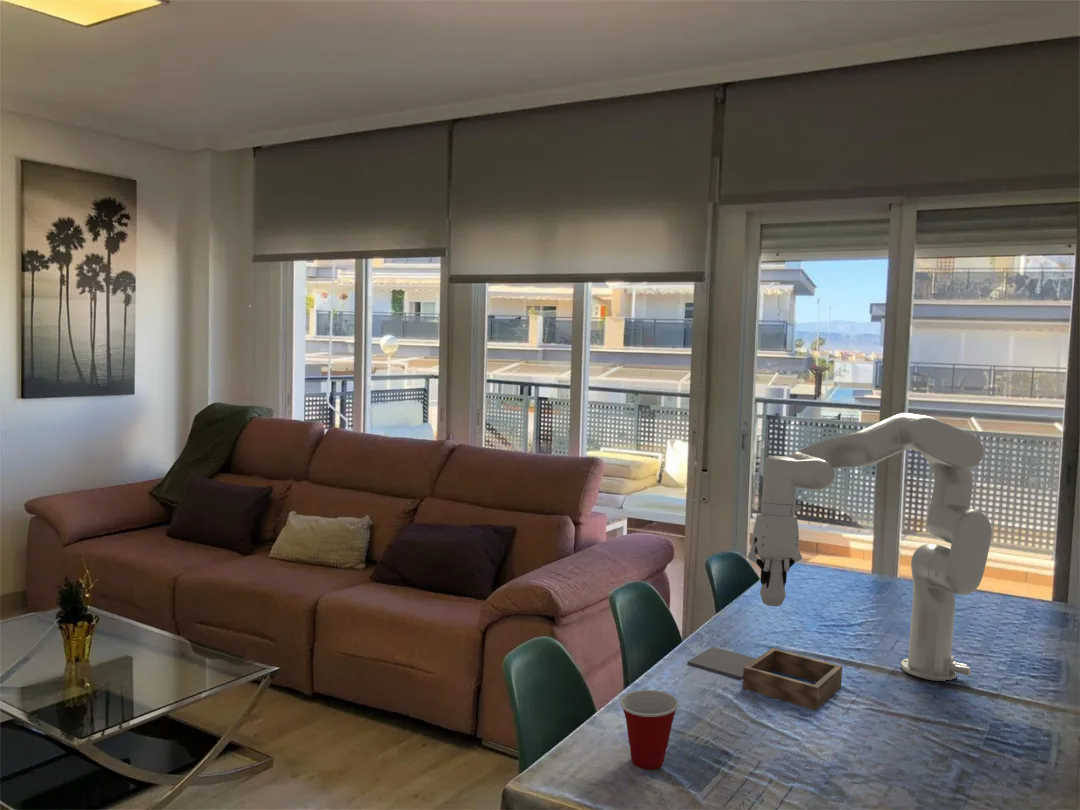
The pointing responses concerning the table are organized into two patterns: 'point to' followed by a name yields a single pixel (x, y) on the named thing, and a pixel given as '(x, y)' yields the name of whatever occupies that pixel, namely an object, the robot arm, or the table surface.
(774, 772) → the table surface
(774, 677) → the frame
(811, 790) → the table surface
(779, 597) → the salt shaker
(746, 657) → the coaster
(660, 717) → the plastic cup
